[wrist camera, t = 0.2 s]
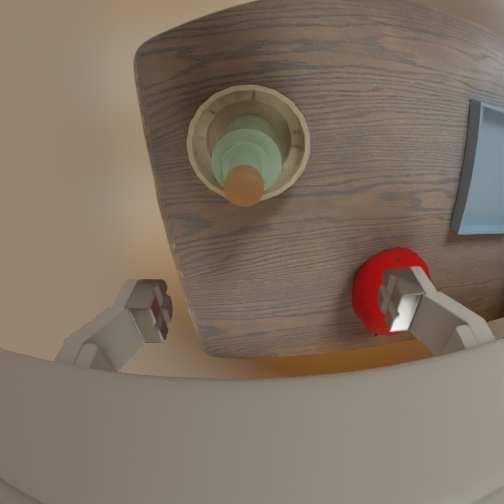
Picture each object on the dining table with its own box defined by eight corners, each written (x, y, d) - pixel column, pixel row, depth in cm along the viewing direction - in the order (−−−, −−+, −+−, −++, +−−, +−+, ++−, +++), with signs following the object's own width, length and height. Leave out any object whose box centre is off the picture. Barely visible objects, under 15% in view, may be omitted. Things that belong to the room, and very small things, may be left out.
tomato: (374, 226, 44) (356, 289, 52) (350, 266, 35) (330, 335, 43) (446, 252, 38) (418, 313, 46) (441, 302, 30) (403, 366, 37)
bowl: (190, 90, 31) (180, 92, 26) (301, 82, 30) (309, 83, 26) (202, 189, 38) (195, 205, 34) (303, 183, 37) (309, 199, 33)
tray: (470, 98, 28) (480, 101, 26) (529, 119, 28) (539, 123, 25) (450, 226, 40) (457, 234, 38) (507, 226, 39) (515, 233, 37)
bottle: (221, 115, 32) (192, 149, 18) (273, 112, 32) (288, 142, 17) (226, 162, 35) (204, 230, 21) (275, 159, 35) (289, 226, 21)
